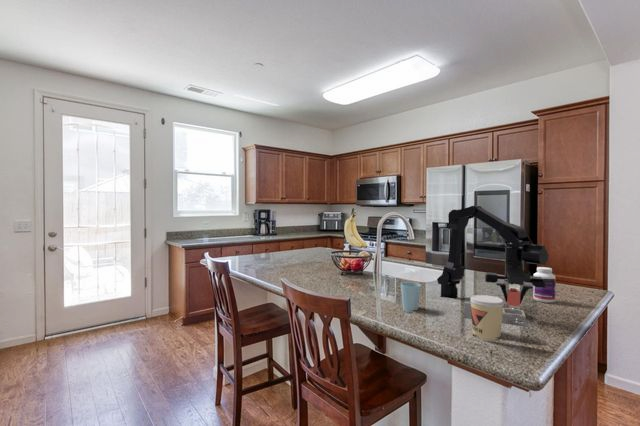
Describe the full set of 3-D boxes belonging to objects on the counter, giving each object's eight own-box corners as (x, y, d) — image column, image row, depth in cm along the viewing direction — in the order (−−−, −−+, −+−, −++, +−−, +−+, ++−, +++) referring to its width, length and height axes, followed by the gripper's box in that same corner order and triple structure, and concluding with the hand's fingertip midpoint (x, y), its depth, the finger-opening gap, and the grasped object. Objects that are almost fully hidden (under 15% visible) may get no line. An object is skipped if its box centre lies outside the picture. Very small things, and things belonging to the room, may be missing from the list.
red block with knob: (507, 305, 119) (507, 289, 119) (506, 302, 123) (506, 286, 123) (520, 306, 118) (520, 290, 117) (518, 303, 121) (519, 288, 121)
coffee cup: (464, 331, 107) (464, 294, 106) (491, 330, 107) (491, 294, 107) (480, 343, 97) (481, 303, 97) (510, 342, 98) (510, 302, 98)
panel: (463, 320, 116) (463, 314, 116) (464, 305, 134) (464, 300, 134) (529, 330, 108) (529, 324, 108) (521, 313, 126) (521, 307, 126)
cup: (413, 307, 132) (413, 281, 132) (424, 313, 125) (425, 286, 124) (396, 308, 130) (397, 282, 130) (407, 314, 122) (407, 287, 122)
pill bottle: (559, 304, 138) (559, 270, 137) (537, 302, 139) (538, 269, 139) (549, 298, 146) (550, 266, 145) (529, 297, 147) (530, 266, 147)
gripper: (486, 261, 117) (485, 305, 117) (549, 266, 109) (547, 312, 109) (485, 257, 127) (484, 297, 127) (542, 261, 119) (541, 304, 119)
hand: (513, 302), depth 120 cm, fingers closed on red block with knob, 4 cm apart
